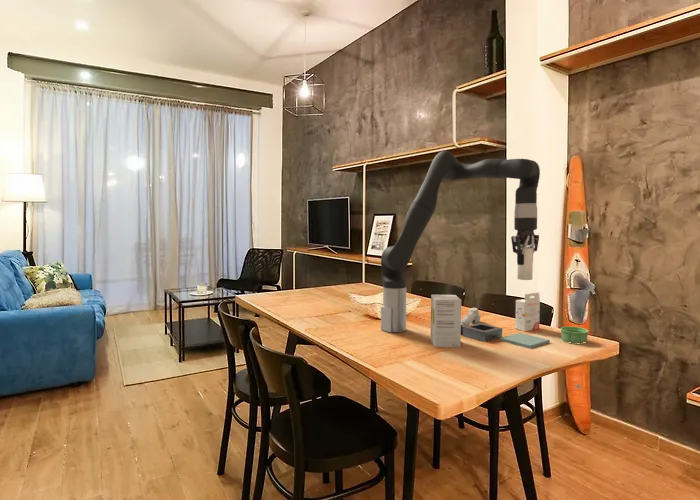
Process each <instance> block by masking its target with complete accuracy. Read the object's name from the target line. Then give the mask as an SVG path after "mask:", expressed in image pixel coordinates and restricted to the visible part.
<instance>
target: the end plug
mask: <svg viewBox="0 0 700 500" xmlns="http://www.w3.org/2000/svg"><path fill="white" fill-rule="evenodd" d="M521 250H522V248H521ZM523 255H524V265H518V264H517V273H516V274H517V278H516V279H517V280H521V281H530V280H531V281H532V280H533V271H534V269H533V266H534V253H533V248H525V251H524V254H523Z"/></svg>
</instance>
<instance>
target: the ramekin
mask: <svg viewBox="0 0 700 500" xmlns="http://www.w3.org/2000/svg"><path fill="white" fill-rule="evenodd" d="M560 331H561V334H560V335H561V341H563V342H564V341H566V342H565V343H567V342H571V343H570V344H572V343H583V342H586V341H587V342H588V336H589V329H586V328H584V327H579V326H569V325H568V326H567V325H566V326H562V327H561V328H560ZM587 342H586V343H587Z"/></svg>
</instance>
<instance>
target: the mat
mask: <svg viewBox="0 0 700 500" xmlns="http://www.w3.org/2000/svg"><path fill="white" fill-rule="evenodd" d="M499 341H501V342H505V343H509V344H511V345H516V346H520V347H523V348H525V349H526V348H527V349H533V348H536V346H537V347H539V345H540V346H542V345H547V344H549V342H551V341H550V339H547V338H545V337H539V336H536V335H531V334H527V333H522V332H517V333H513V334H509V335H505V336H502V337H501V338H499ZM546 343H547V344H546Z"/></svg>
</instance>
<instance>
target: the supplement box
mask: <svg viewBox="0 0 700 500" xmlns="http://www.w3.org/2000/svg"><path fill="white" fill-rule="evenodd" d="M461 320H462V299H461V298H459V297H458V296H457V295H456V294H431V295H430V342H431V343H432V346H433V347H434V348H461V342H462V341H461V338H462V337H461V335H462V334H461Z"/></svg>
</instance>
